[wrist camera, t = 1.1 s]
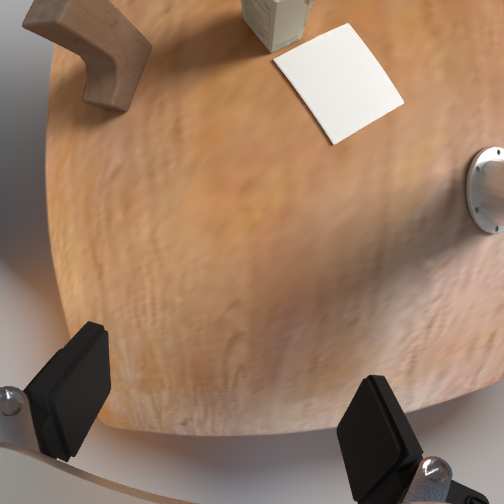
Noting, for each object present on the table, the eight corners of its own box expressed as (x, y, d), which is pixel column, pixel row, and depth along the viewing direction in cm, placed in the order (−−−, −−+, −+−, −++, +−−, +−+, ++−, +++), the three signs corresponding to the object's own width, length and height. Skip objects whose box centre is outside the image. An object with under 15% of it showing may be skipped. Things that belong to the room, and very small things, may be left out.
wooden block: (128, 113, 31) (33, 82, 14) (98, 107, 31) (-3, 81, 14) (154, 45, 29) (84, -27, 12) (123, 41, 28) (43, -20, 11)
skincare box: (302, 39, 29) (322, -12, 17) (270, 54, 29) (278, 5, 18) (271, 2, 27) (278, -56, 15) (240, 17, 28) (234, -40, 16)
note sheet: (347, 23, 28) (348, 22, 27) (403, 103, 30) (404, 103, 30) (273, 60, 30) (273, 59, 29) (333, 145, 32) (334, 144, 32)
